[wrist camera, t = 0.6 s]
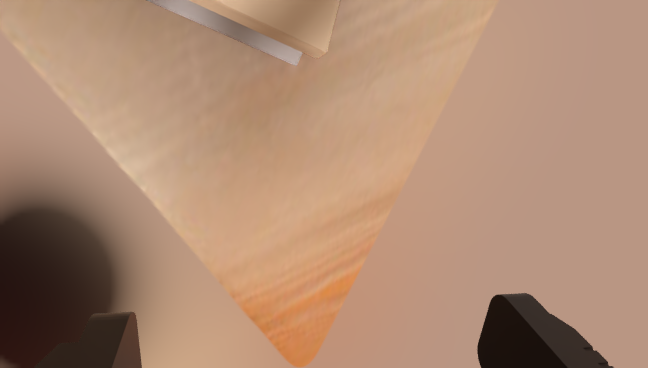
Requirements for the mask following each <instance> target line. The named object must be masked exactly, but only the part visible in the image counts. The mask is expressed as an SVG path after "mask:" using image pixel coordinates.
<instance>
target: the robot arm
mask: <svg viewBox="0 0 648 368" xmlns="http://www.w3.org/2000/svg"><path fill="white" fill-rule="evenodd" d="M478 359H479V363H480V365H481V368H613V367H612V366H609V365H608V362H607V361H606V360H605V359H604V358H603V357H602V356H601V355H600V354H599V353H598V352H597V351H594V350H593V348H592V346H591V345H590V344H589V343H588V342H587V341H586V340H585V339H584V338H583V337H582V336H581V335H580V334H579V333H578V332H577V331H576V330H575V329H574V328H572V327H571V326H569V325H568V324H566V323H565V322H563V321H561V320H560V319H558V318H557V317H555V316H554V315H552V314H549V313H548V312H547V311H546V310H545V309H544V307H543V306H542V305H541V304H540V303H539V302H538V301H537V300H536V299H535V298H534V297H533V296H531V295H529V294H527V293H521V294H502V295H495V296H494V297H493V298H492V300H491V302H490V305H489V308H488V312H487V315H486V318H485V322H484V325H483V328H482V332H481V335H480V339H479V342H478ZM35 368H142V365H141V356H140V348H139V339H138V329H137V320H136V315H135V313H134V312H123V313H104V314H94V315H92V316H91V317H90V319H89V321H88V323H87V325H86V327H85V330H84V332H83V334H82V336H81V338H80V340H79V342H75V343H60V344H59V345H58V346H56V347H55V348H54V350H52V351H51V352H50V353H49V354H48V355H47V356H46V357H45V358H44V359H42V360H41V361H40V362H39V363H38V364H37V365H36V366H35Z"/></svg>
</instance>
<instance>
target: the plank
mask: <svg viewBox="0 0 648 368" xmlns="http://www.w3.org/2000/svg"><path fill="white" fill-rule="evenodd" d="M189 1H191V2H193V3H196V4H198V5H200V6H202V7H204V8H206V9H209V10H211V11H213V12H215V13H217V14H220V15H222V16H224V17H226V18H228V19H230V20H233V21H235V22H237V23H239V24H241V25H244V26H246V27H248V28H250V29H252V30H255V31H257V32H259V33H261V34H263V35H265V36H268V37H270V38H272V39H274V40H276V41H279V42H281V43H283V44H285V45H287V46H290V47H292V48H294V49H296V50H298V51H300V52H303V53H305V54H307V55H309V56H311V57H314V58H316V59H319V58H320V57H321V56H323V55H324V54H326V53H327V50H328V46H329V42H330V38H331V34H332V30H333V26H334V23H335V19H336V15H337V11H338V7H339V3H340V0H189Z"/></svg>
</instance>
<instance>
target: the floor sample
mask: <svg viewBox="0 0 648 368" xmlns="http://www.w3.org/2000/svg"><path fill="white" fill-rule="evenodd" d="M147 1H149V2H151V3H153V4H156V5H158V6H160V7H163V8H165V9H167V10H169V11H172V12H174V13H176V14H178V15H181V16H183V17H185V18H188V19H190V20H192V21H194V22H197V23H199V24H201V25H203V26H206V27H208V28H210V29H213V30H215V31H217V32H219V33H222V34H224V35H226V36H229V37H231V38H233V39H235V40H238V41H240V42H242V43H244V44H247V45H249V46H251V47H254V48H256V49H258V50H260V51H263V52H265V53H267V54H269V55H272V56H274V57H276V58H279V59H281V60H283V61H285V62H288V63H290V64H292V65H295V66H297V64H298V62H299V60H300V57H301V55H302V53H303V52H300V51H298V50H296V49H294V48H292V47H290V46H287V45H285V44H283V43H281V42H279V41H276V40H274V39H272V38H270V37H268V36H265V35H263V34H261V33H259V32H257V31H255V30H252V29H250V28H248V27H246V26H244V25H241V24H239V23H237V22H235V21H233V20H230V19H228V18H226V17H224V16H222V15H220V14H217V13H215V12H213V11H211V10H209V9H206V8H204V7H202V6H200V5H198V4H196V3H193V2H191V1H189V0H147Z"/></svg>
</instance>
